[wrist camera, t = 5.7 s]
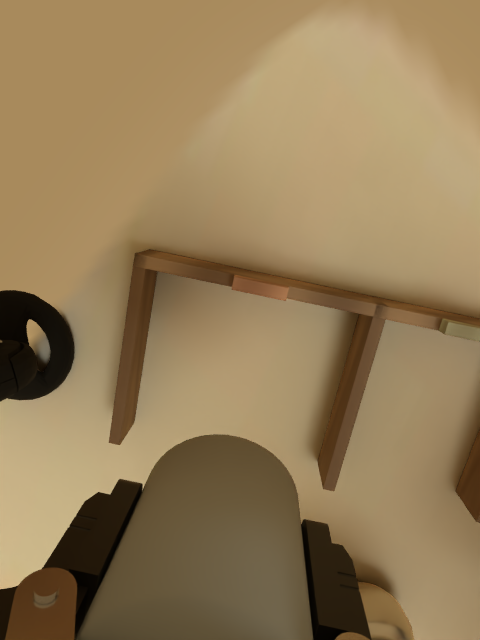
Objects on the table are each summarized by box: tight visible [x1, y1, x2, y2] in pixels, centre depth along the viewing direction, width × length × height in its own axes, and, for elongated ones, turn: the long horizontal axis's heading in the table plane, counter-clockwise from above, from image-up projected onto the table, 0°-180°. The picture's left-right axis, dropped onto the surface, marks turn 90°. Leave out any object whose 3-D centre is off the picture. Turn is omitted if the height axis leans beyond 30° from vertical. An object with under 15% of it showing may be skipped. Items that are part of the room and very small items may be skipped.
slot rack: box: [109, 249, 480, 523], centre depth 26 cm, size 24×12×4 cm, turn 79°
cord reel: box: [75, 435, 313, 640], centre depth 11 cm, size 5×5×7 cm
